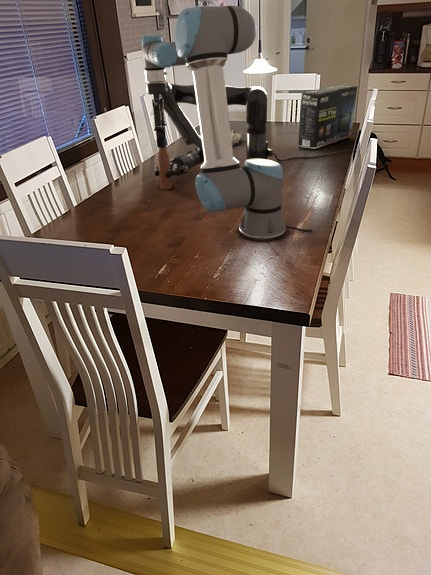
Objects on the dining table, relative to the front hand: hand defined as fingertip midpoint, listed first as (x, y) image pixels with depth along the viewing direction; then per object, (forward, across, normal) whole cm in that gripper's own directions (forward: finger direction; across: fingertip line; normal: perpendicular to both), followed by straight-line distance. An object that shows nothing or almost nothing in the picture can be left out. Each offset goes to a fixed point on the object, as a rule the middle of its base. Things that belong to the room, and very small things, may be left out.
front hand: (162, 145), depth 183 cm
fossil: (+17, +73, -27) cm, 80 cm away
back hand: (+11, -2, +1) cm, 12 cm away
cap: (-2, 0, 0) cm, 2 cm away
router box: (+17, +64, -79) cm, 103 cm away
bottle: (+17, 0, 0) cm, 17 cm away
